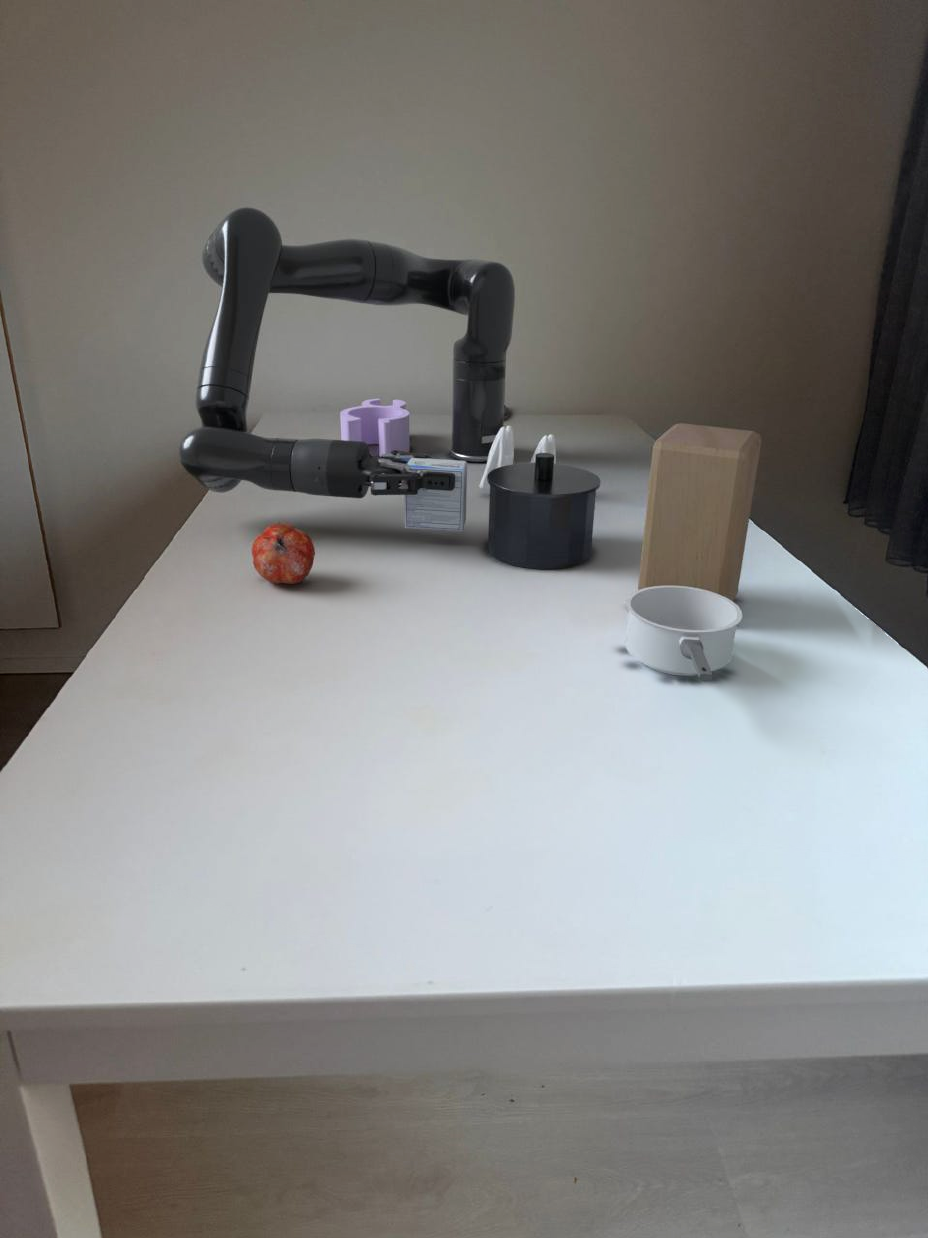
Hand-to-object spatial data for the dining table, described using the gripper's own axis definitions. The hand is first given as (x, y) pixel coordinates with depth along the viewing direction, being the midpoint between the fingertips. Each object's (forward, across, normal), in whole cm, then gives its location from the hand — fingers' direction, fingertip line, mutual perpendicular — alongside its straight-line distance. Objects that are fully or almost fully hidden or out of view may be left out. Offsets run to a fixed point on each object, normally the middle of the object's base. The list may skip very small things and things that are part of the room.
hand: (456, 476), depth 119 cm
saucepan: (+28, -34, +9) cm, 45 cm away
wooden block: (+30, -16, +9) cm, 35 cm away
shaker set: (+7, +23, +9) cm, 26 cm away
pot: (+12, -1, +9) cm, 15 cm away
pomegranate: (-18, -17, +10) cm, 27 cm away
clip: (-21, +49, +10) cm, 54 cm away
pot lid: (+11, -1, 0) cm, 11 cm away
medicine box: (-3, 0, +7) cm, 8 cm away
